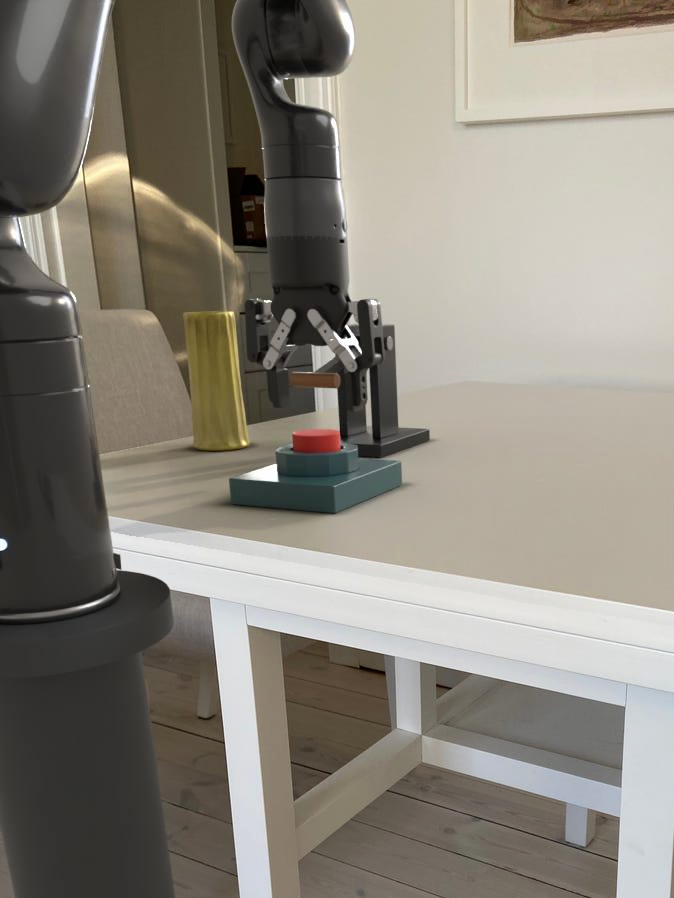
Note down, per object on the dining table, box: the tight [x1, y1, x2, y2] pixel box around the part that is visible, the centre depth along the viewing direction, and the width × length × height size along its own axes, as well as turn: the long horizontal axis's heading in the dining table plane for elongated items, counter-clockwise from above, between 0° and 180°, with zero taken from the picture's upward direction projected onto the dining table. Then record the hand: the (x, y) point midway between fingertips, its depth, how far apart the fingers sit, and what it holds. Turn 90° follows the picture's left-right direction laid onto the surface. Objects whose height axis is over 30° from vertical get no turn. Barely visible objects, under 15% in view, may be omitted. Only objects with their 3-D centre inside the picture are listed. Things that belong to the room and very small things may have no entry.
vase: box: [182, 310, 251, 452], centre depth 108 cm, size 6×6×14 cm
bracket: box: [334, 323, 431, 459], centre depth 108 cm, size 12×9×13 cm
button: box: [291, 428, 341, 453], centre depth 85 cm, size 4×4×2 cm
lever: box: [289, 329, 361, 389], centre depth 102 cm, size 13×5×2 cm, turn 158°
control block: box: [228, 442, 403, 514], centre depth 86 cm, size 12×10×4 cm
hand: (318, 409), depth 99 cm, fingers open, 8 cm apart
